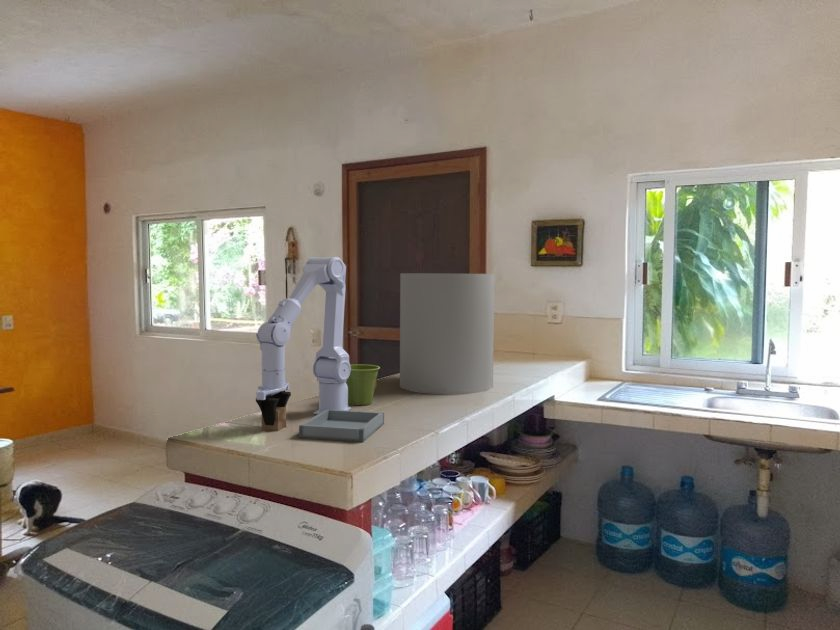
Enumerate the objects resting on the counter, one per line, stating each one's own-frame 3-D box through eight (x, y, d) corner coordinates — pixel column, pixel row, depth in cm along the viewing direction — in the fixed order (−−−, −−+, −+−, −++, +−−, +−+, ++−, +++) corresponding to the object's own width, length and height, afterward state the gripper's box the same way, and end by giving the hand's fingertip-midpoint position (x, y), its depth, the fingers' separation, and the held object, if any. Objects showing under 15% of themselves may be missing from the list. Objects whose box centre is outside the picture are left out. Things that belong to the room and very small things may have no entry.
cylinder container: (472, 398, 192) (473, 273, 190) (382, 389, 206) (383, 273, 204) (504, 381, 223) (506, 274, 220) (424, 374, 237) (425, 273, 234)
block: (269, 425, 155) (269, 406, 155) (286, 426, 154) (285, 407, 154) (261, 429, 150) (261, 410, 150) (278, 430, 150) (278, 411, 149)
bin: (326, 420, 161) (326, 409, 161) (384, 423, 157) (384, 412, 157) (299, 437, 143) (299, 425, 143) (362, 442, 140) (362, 429, 140)
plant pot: (373, 408, 176) (374, 370, 175) (335, 406, 178) (335, 368, 177) (384, 400, 187) (384, 364, 187) (348, 398, 190) (348, 363, 189)
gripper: (272, 364, 159) (272, 415, 160) (244, 373, 145) (245, 428, 146) (296, 366, 158) (296, 416, 159) (271, 374, 144) (271, 430, 144)
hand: (273, 422), depth 152 cm, fingers closed on block, 4 cm apart
